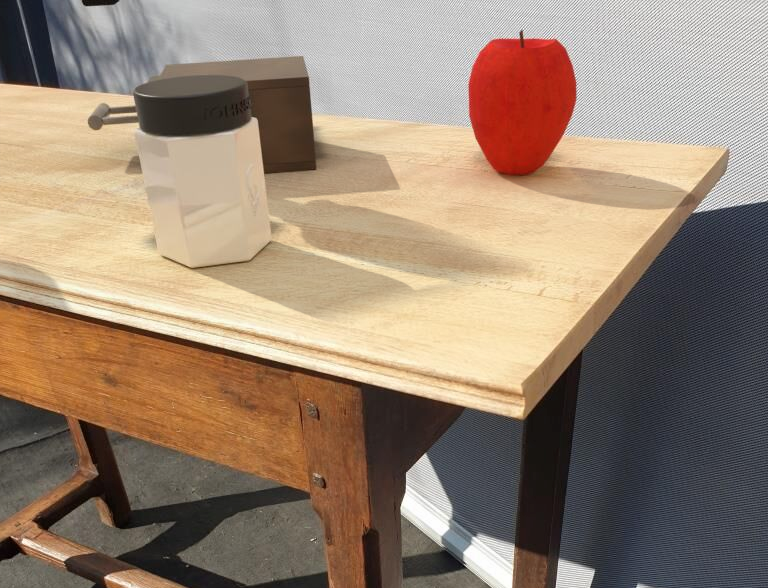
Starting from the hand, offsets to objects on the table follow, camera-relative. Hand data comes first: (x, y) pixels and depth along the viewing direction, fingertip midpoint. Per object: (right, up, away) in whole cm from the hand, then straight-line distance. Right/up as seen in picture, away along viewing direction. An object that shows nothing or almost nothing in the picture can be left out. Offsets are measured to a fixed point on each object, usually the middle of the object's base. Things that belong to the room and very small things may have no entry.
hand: (101, 3), depth 79 cm
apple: (+40, -15, +2) cm, 43 cm away
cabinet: (+12, -11, +10) cm, 19 cm away
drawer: (+7, -11, +9) cm, 16 cm away
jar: (+13, -27, -13) cm, 33 cm away
